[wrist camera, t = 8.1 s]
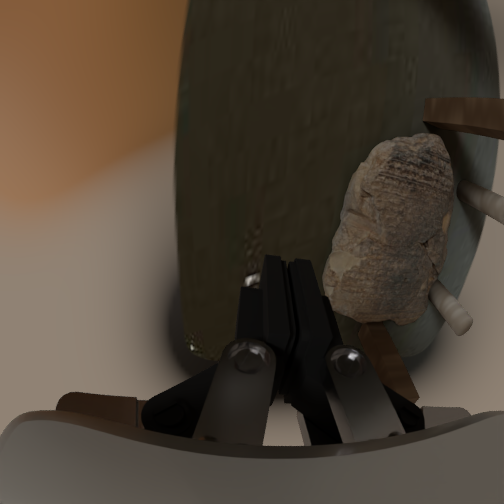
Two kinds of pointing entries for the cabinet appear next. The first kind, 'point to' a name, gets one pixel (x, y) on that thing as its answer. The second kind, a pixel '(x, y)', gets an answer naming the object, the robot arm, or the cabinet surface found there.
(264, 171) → the cabinet surface
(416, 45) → the cabinet surface
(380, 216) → the clay tablet
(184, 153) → the cabinet surface
